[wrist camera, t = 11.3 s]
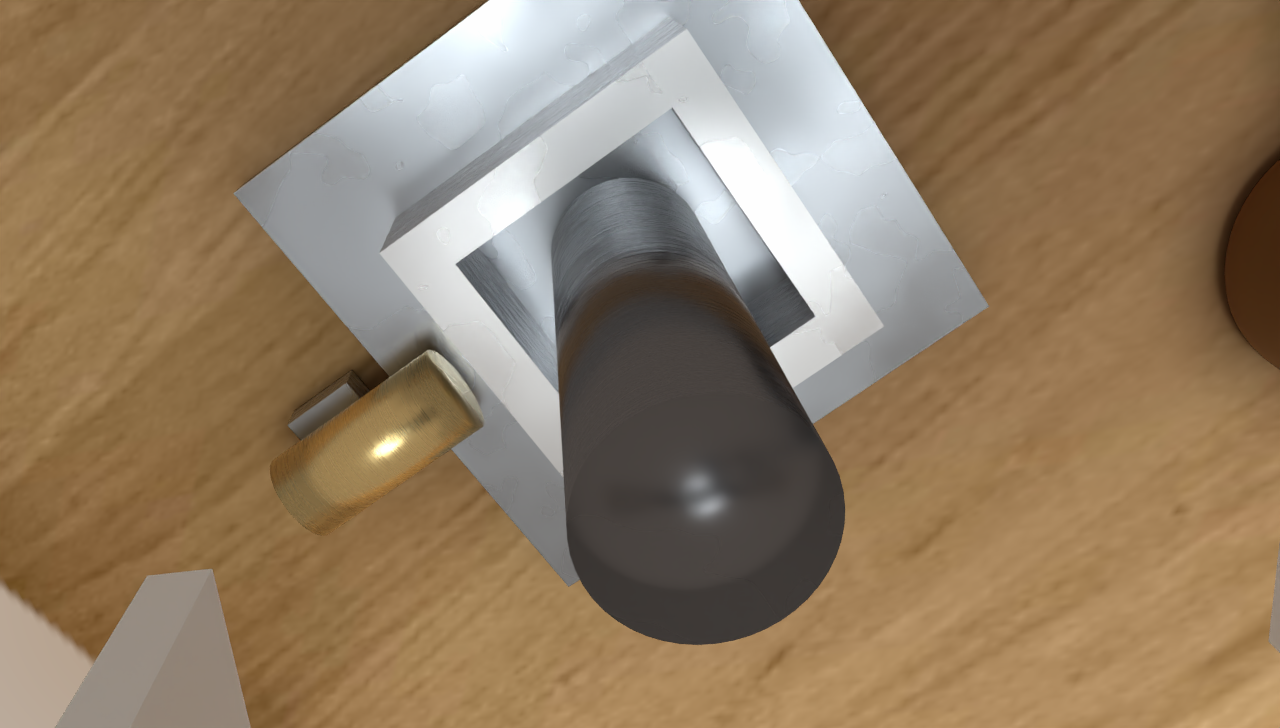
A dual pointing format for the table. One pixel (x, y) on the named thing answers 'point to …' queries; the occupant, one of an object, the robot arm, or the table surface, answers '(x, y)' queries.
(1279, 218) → the mug
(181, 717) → the robot arm
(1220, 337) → the table surface
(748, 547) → the dark cylinder
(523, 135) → the open box on baseplate
